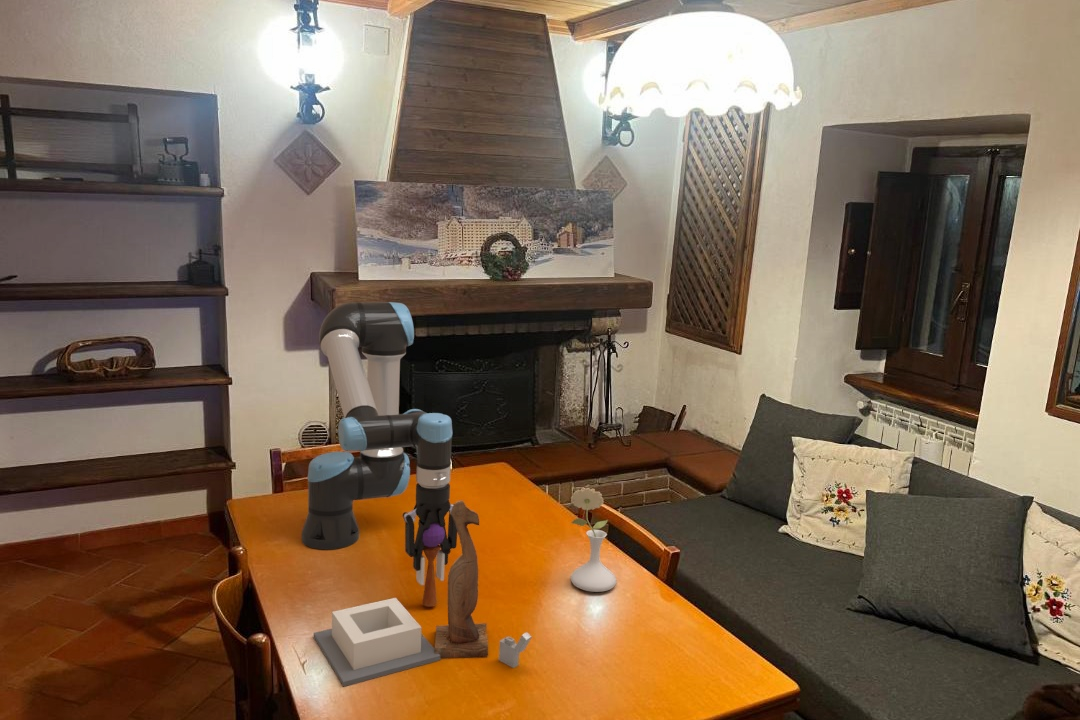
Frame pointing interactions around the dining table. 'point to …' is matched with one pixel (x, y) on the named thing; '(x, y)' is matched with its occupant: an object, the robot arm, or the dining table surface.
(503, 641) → the lighter
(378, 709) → the dining table surface
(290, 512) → the dining table surface
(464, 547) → the bird sculpture
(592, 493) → the flower in vase
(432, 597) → the kendama
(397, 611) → the socket
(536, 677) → the dining table surface
